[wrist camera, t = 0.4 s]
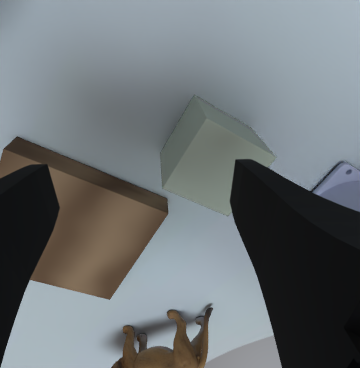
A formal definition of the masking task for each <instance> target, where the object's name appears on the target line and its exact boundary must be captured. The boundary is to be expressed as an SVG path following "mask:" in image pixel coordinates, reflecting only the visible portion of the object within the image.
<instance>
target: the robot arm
mask: <svg viewBox="0 0 360 368" xmlns="http://www.w3.org/2000/svg"><path fill="white" fill-rule="evenodd" d="M347 170H348V171H347ZM346 171H347V172H346ZM230 205H231V209H232V213H233V217H234V221H235V224H236V226H237V229H238V231H239V233H240V236H241V238H242V241H243V243H244V245H245V248H246V250H247V252H248V255H249V257H250V259H251V262H252V264H253V266H254V269H255V272H256V274H257V277H258V280H259V283H260V287H261V290H262V293H263V297H264V300H265V304H266V307H267V311H268V315H269V318H270V322H271V325H272V329H273V333H274V337H275V341H276V345H277V349H278V353H279V357H280V361H281V365H282V368H360V171H359V170H358V169H356V168H355V167H353V166H351V165H350V164H348V163H346V162H343V163H341V164H339V165H338V166H337V167H336V168H335V169H334V170H333V171H332V172H331V173H330V175H329V176H328V177H327V178H326V179H325V180H324V181H323V182H322V183H321V184H320V185H319V186H318V187H317V188H316V189H315V190H314V191H313V192H310V191H308V190H307V189H305V188H303V187H301V186H299V185H297V184H295V183H293V182H291V181H289V180H288V179H286V178H284V177H282V176H281V175H279V174H277V173H276V172H274V171H272V170H270V169H269V168H267V167H265V166H264V165H262V164H260V163H258V162H256V161H254V160H252V159H235V166H234V173H233V180H232V187H231V195H230ZM59 210H60V206H59V202H58V199H57V195H56V192H55V189H54V185H53V182H52V178H51V175H50V171H49V168H48V164H32V165H28V166H25V167H23V168H20V169H18V170H16V171H14V172H12V173H10V174H8V175H6V176H4V177H2V178H0V367H1V363H2V360H3V356H4V353H5V349H6V346H7V343H8V340H9V337H10V333H11V330H12V327H13V324H14V321H15V318H16V315H17V312H18V309H19V306H20V303H21V301H22V298H23V295H24V292H25V290H26V287H27V285H28V283H29V280H30V278H31V276H32V274H33V272H34V270H35V268H36V266H37V264H38V262H39V260H40V257H41V255H42V253H43V251H44V249H45V247H46V245H47V243H48V241H49V239H50V236H51V234H52V232H53V230H54V227H55V224H56V221H57V217H58V213H59Z"/></svg>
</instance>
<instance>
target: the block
mask: <svg viewBox="0 0 360 368" xmlns="http://www.w3.org/2000/svg"><path fill="white" fill-rule="evenodd" d="M160 157H161V174H162V189H165V190H167V191H169V192H172V193H174V194H176V195H179V196H181V197H183V198H186V199H188V200H190V201H193V202H195V203H198V204H200V205H202V206H205V207H207V208H209V209H212V210H214V211H216V212H219V213H221V214H223V215H226V216H229V215H230V213H231V212H232V209H231V205H230V195H231V187H232V180H233V173H234V166H235V159H252V160H254V161H256V162H258V163H260V164H262V165H264V166H265V167H267V168H268V167H269V166H270V165H271V164H272V162H273V161H274V160H275V159H276V158H277V157H276V156H275V155H274V154H273V152H272V151H271V150H270V149H269V148H268V147H267V146H266V145H265V143H264V142H263V141H262V140H261V139H260V138H259V137H258V135H257V134H256V133H255V132H254V131H253V130H252V129H251V128H250V127H249V126H247V125H245V124H244V123H242V122H240V121H238V120H237V119H235V118H233V117H232V116H230V115H228V114H227V113H225V112H223V111H221V110H220V109H218V108H216V107H215V106H213V105H211V104H209V103H208V102H206V101H204V100H203V99H201V98H199V97H197V96H196V95H194V96H193V98H192V100H191V101H190V103H189V105H188V106H187V108H186V110H185V112H184V113H183V115H182V117H181V119H180V120H179V122H178V124H177V125H176V127H175V129H174V131H173V132H172V134H171V136H170V137H169V139H168V141H167V143H166V144H165V146H164V148H163V149H162V151H161V153H160Z"/></svg>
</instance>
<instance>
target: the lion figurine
mask: <svg viewBox="0 0 360 368" xmlns="http://www.w3.org/2000/svg"><path fill="white" fill-rule="evenodd" d="M212 310H213V308H212V307H211V308H208V309H207V310H206V312H205V317H198V318H196V324H198V325H201V329H200V331H199V333H198V335H197V336H196V337H195V338H194V339H193V340H192V341H191V343H190V341H189V339H188V337H187V334H186V322H185V321H184V320H183V318H182V317H181V316H180V315H179V313H178V312H177V311H175V310H171V311H168V312H167V316H168V318H169V319H175V321H176V323H177V331H176V335H175V338H174V343H173V347H174V348H173V350H172V349H170V348H168V347H163V346H155V347H151V348H148V349H147V336H146V335H145V334H139V335H138V336H137V341H138V342H139V352H138V353H137V352H136V350H135V348H134V335H135V333H134V331H133V328H132V327H131V326H124V327H123V333H125V334H127V336H126V340H125V344H124V348H123V357H122V358H120V359H119V360H118V361H117V362H115V364H114V365H113V366H112V367H111V368H204V366H205V362H206V359H207V353H208V321H209V317H210V315H211V312H212ZM201 349H202V350H201Z"/></svg>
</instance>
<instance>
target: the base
mask: <svg viewBox="0 0 360 368" xmlns="http://www.w3.org/2000/svg"><path fill="white" fill-rule="evenodd" d="M32 164H48V168H49V171H50V175H51V178H52V182H53V185H54V189H55V192H56V195H57V199H58V202H59V206H60V210H59V213H58V217H57V221H56V224H55V227H54V230H53V232H52V234H51V236H50V239H49V241H48V243H47V245H46V247H45V249H44V251H43V253H42V255H41V257H40V260H39V262H38V264H37V266H36V268H35V270H34V272H33V274H32V276H31V278H30V280H33V281H37V282H41V283H45V284H49V285H53V286H57V287H61V288H65V289H69V290H73V291H77V292H81V293H85V294H89V295H93V296H97V297H101V298H105V299H109V300H110V299H111V297H112V296H113V294H114V293H115V291H116V290H117V288H118V287H119V285H120V284H121V282H122V281H123V279H124V278H125V277H126V275H127V274H128V272H129V271H130V269H131V268H132V266H133V265H134V263H135V262H136V260H137V259H138V257H139V256H140V254H141V253H142V252H143V250H144V249H145V247H146V246H147V244H148V243H149V241H150V240H151V238H152V237H153V235H154V234H155V232H156V231H157V229H158V228H159V227H160V225H161V224H162V222H163V221H164V219H165V218H166V216H167V215H168V203H167V199H166V198H164V197H162V196H159V195H157V194H154V193H152V192H150V191H147V190H145V189H142V188H140V187H137V186H135V185H133V184H130V183H128V182H125V181H123V180H120V179H118V178H116V177H113V176H111V175H108V174H106V173H104V172H101V171H99V170H96V169H94V168H91V167H89V166H87V165H84V164H82V163H79V162H77V161H74V160H72V159H70V158H67V157H65V156H62V155H60V154H58V153H55V152H53V151H50V150H48V149H45V148H43V147H41V146H38V145H36V144H33V143H31V142H28V141H26V140H24V139H21V138H19V137H16V138H15V139H14V140H13V141H12V142H11V143H10V144H8V145H7V146H6V147H5V148H4V149H3V153H2V157H1V160H0V178H2V177H4V176H6V175H8V174H10V173H12V172H14V171H16V170H18V169H20V168H23V167H25V166H28V165H32Z"/></svg>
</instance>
